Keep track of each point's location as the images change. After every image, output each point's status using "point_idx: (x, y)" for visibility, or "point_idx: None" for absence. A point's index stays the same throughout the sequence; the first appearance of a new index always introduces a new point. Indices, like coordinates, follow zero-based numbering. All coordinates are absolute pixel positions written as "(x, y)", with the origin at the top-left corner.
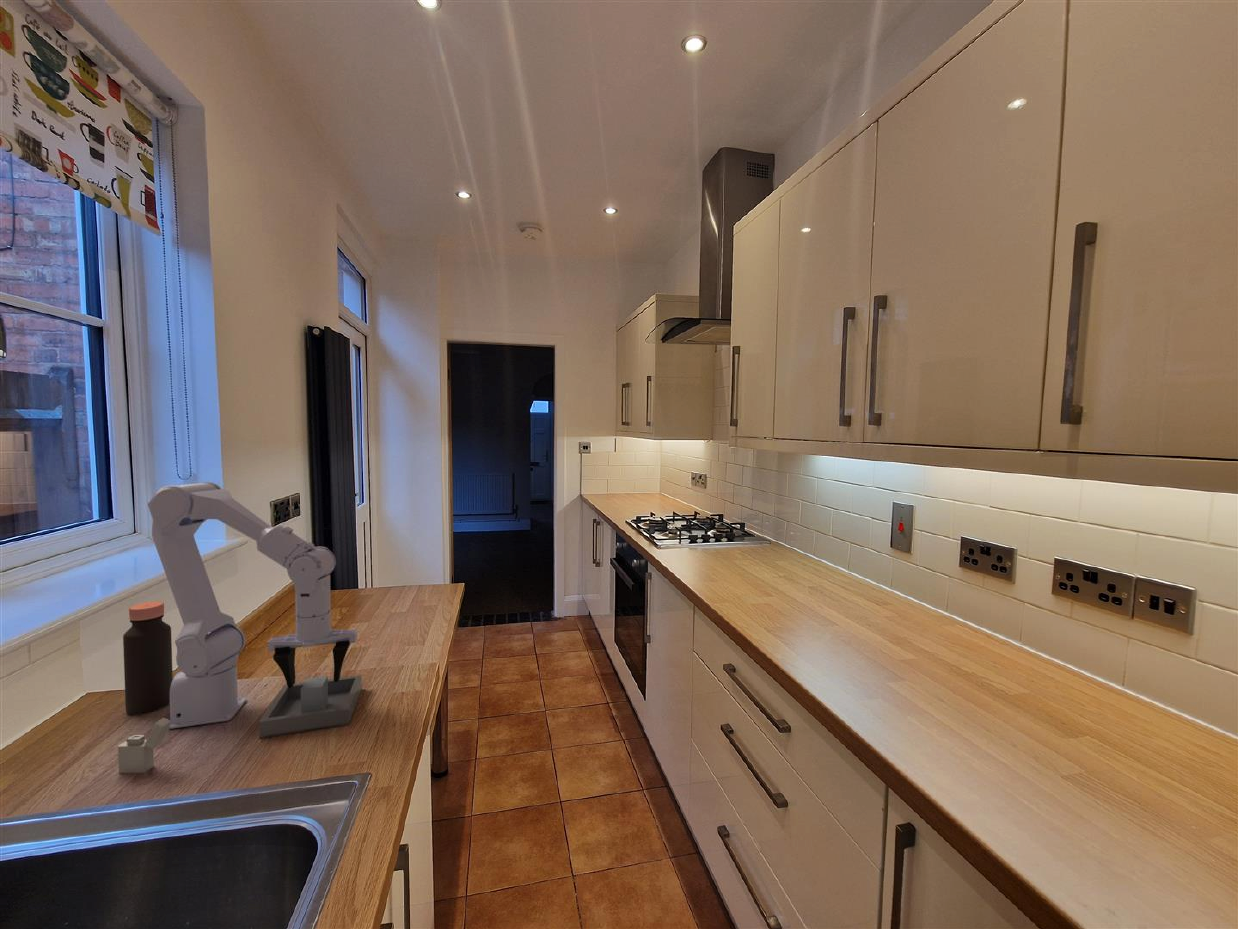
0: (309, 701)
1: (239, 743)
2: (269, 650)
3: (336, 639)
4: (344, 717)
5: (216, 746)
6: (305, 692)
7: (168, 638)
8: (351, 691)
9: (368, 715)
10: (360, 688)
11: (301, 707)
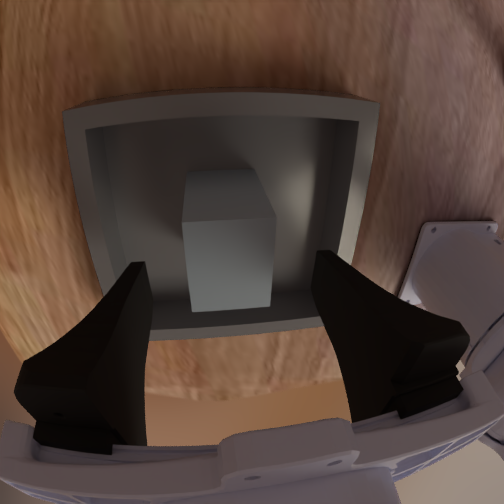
0: (233, 192)
1: (394, 94)
2: (481, 376)
3: (76, 470)
4: (87, 103)
5: (436, 106)
6: (253, 210)
7: None
8: (102, 249)
9: (46, 155)
10: None
11: (259, 183)
